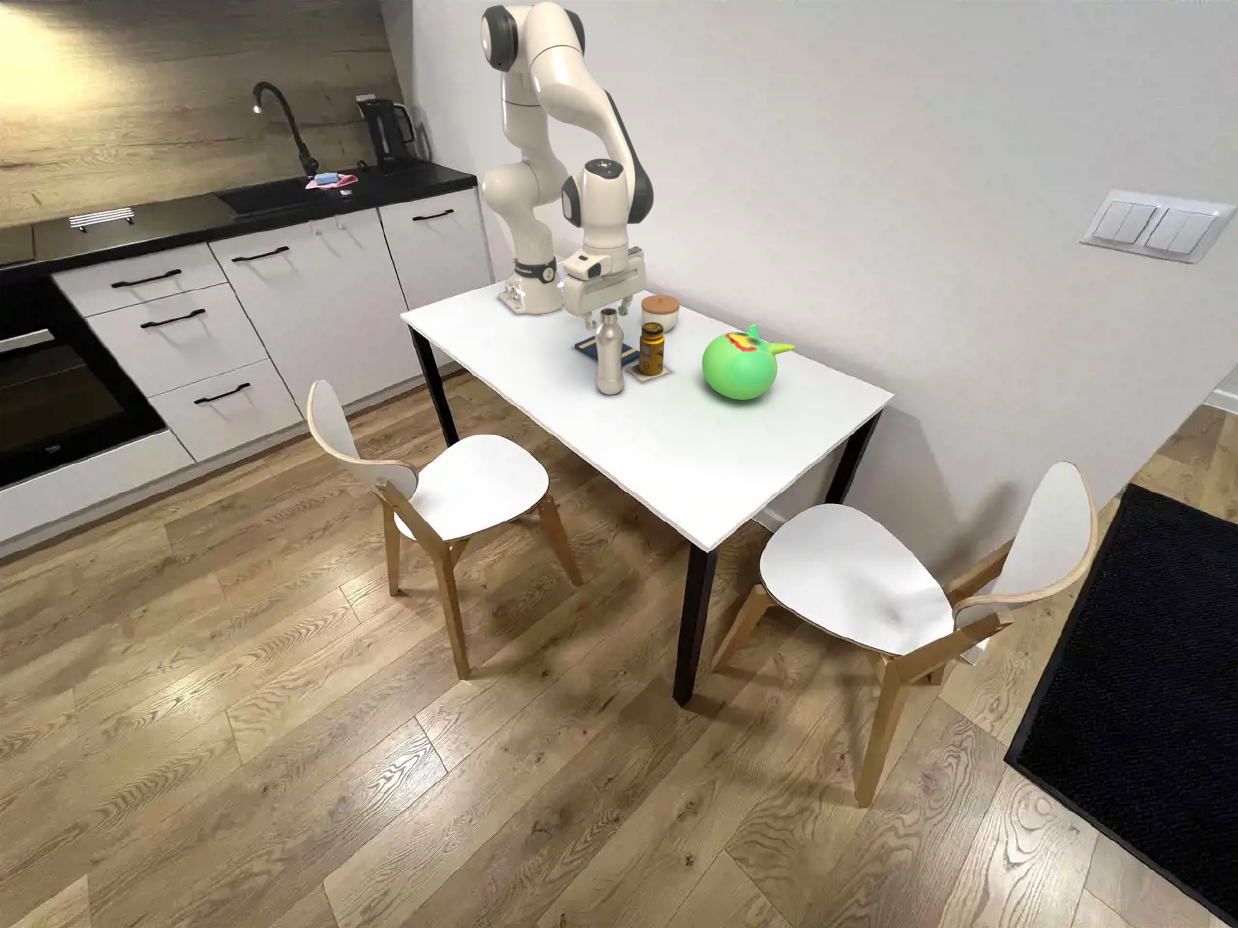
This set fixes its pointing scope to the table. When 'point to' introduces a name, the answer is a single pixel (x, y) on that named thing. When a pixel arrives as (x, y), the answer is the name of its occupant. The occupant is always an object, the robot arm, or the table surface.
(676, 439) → the table surface
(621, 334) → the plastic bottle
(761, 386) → the toy bird
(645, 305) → the trinket box
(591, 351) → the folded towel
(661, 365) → the condiment
